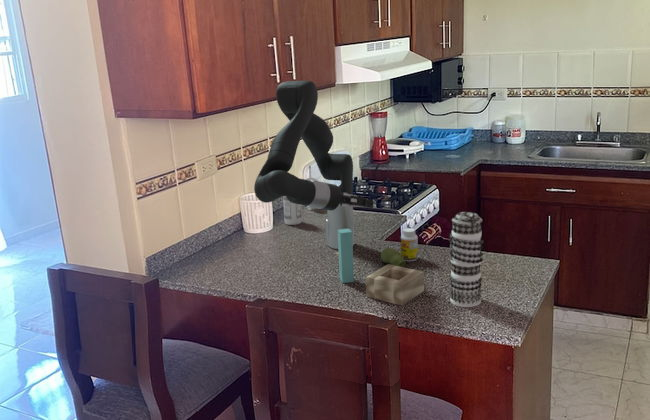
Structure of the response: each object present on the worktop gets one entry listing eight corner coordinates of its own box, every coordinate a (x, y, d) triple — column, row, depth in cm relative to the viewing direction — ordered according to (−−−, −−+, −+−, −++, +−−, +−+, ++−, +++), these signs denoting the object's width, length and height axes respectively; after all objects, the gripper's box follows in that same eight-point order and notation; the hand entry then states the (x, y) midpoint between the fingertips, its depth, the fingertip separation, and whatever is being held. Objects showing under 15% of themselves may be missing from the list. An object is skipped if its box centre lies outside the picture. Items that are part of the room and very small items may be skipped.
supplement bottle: (398, 257, 207) (397, 228, 204) (413, 255, 208) (413, 226, 205) (405, 263, 201) (404, 233, 199) (420, 260, 203) (420, 231, 200)
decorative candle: (443, 296, 174) (443, 211, 168) (473, 292, 176) (474, 208, 169) (456, 309, 166) (457, 220, 159) (488, 305, 168) (490, 216, 161)
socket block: (366, 296, 177) (365, 276, 175) (388, 282, 186) (388, 264, 184) (402, 305, 170) (402, 285, 168) (423, 291, 179) (423, 271, 177)
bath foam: (300, 219, 255) (297, 172, 250) (302, 224, 249) (299, 176, 243) (283, 221, 254) (280, 174, 249) (285, 226, 248) (282, 177, 242)
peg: (342, 283, 187) (340, 233, 183) (339, 279, 191) (337, 229, 186) (353, 281, 188) (352, 231, 184) (350, 277, 191) (349, 228, 187)
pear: (391, 243, 204) (410, 256, 196) (390, 257, 206) (408, 270, 198) (378, 246, 201) (396, 259, 193) (376, 261, 203) (395, 274, 196)
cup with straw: (325, 206, 274) (322, 162, 269) (316, 212, 266) (314, 166, 261) (307, 205, 277) (305, 161, 272) (298, 210, 269) (296, 165, 264)
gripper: (339, 183, 167) (381, 192, 177) (307, 181, 178) (349, 189, 188) (334, 210, 167) (377, 218, 177) (303, 206, 178) (345, 213, 188)
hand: (362, 203), depth 182 cm, fingers open, 8 cm apart
